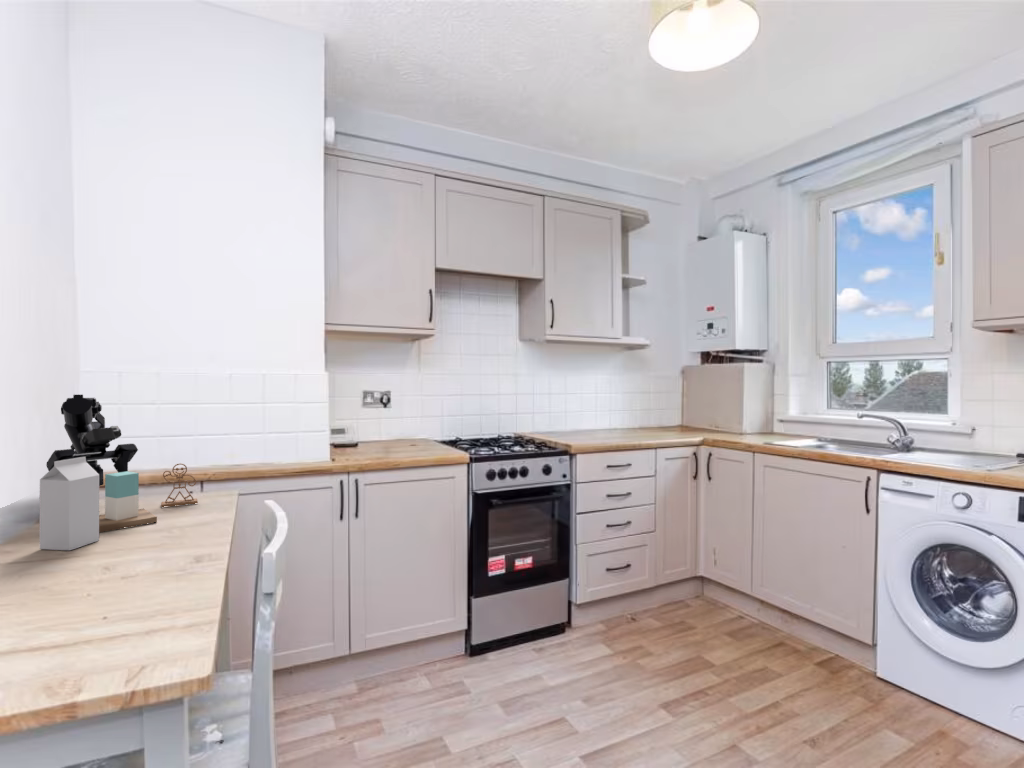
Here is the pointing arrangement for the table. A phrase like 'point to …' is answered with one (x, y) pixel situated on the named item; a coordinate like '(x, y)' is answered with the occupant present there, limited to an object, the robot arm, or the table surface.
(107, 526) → the board
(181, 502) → the gingerbread man figurine
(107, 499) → the block
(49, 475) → the milk carton
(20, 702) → the table surface
